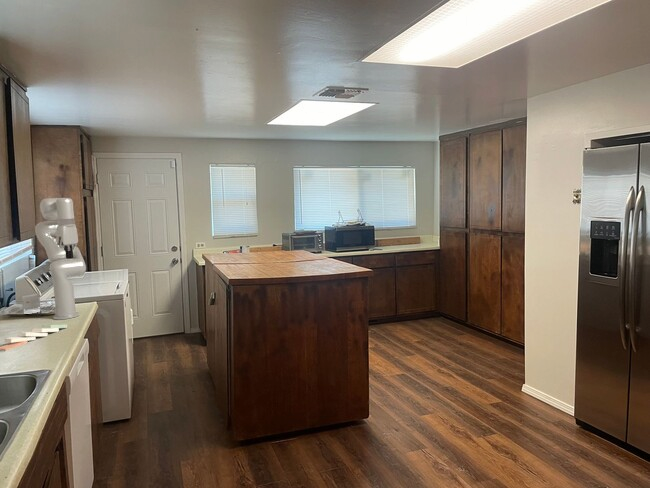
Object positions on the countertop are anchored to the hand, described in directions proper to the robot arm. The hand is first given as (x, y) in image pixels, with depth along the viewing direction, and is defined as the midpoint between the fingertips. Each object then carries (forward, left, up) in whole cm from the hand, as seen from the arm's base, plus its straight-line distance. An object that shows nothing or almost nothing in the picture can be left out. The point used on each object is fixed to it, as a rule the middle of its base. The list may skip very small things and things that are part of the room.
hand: (69, 258), depth 248 cm
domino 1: (+2, -32, -34) cm, 47 cm away
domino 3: (+2, -21, -34) cm, 40 cm away
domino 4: (+1, -14, -34) cm, 36 cm away
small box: (-46, +12, -35) cm, 58 cm away
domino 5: (0, -8, -34) cm, 34 cm away
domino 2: (+2, -27, -34) cm, 43 cm away
